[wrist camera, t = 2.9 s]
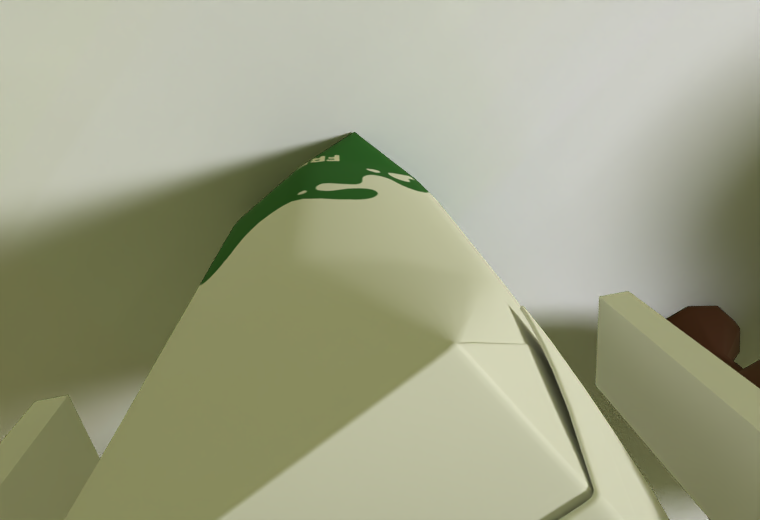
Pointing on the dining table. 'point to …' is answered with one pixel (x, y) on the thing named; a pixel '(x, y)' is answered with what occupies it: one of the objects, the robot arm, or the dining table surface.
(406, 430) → the soya milk
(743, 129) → the dining table surface
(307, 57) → the dining table surface
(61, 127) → the dining table surface
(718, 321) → the ice cream bowl
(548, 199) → the dining table surface
